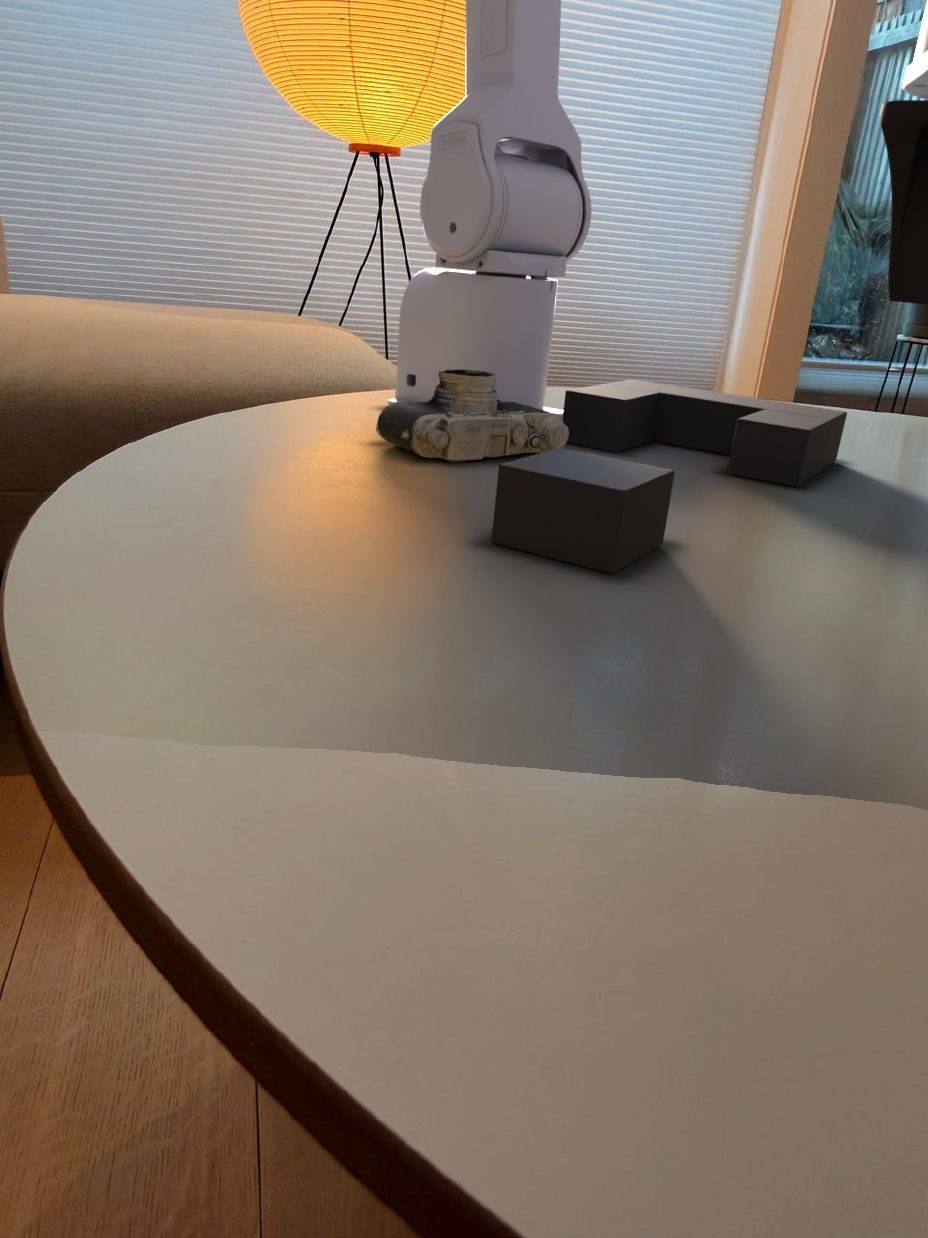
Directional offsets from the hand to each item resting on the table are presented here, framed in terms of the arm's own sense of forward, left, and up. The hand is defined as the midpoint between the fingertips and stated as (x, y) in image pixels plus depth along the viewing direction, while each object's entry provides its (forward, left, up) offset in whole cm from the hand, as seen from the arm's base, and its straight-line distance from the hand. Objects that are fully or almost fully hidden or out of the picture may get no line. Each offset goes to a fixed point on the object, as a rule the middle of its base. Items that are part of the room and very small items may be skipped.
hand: (926, 303), depth 42 cm
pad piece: (-8, -16, -10) cm, 21 cm away
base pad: (-11, +7, -10) cm, 16 cm away
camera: (-20, -4, -10) cm, 23 cm away
